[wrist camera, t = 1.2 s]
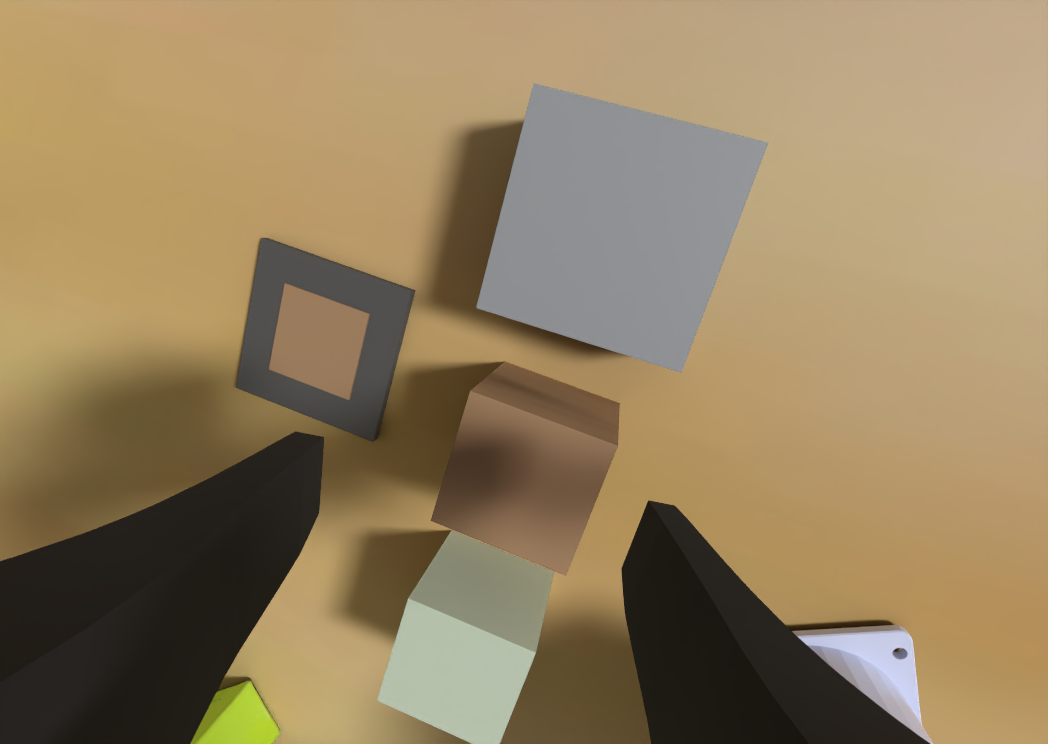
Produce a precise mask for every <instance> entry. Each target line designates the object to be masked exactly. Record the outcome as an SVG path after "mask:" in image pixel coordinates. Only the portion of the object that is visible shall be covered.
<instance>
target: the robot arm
mask: <svg viewBox="0 0 1048 744" xmlns="http://www.w3.org/2000/svg"><path fill="white" fill-rule="evenodd" d="M323 447H324V437H320V436H315V435H310V434H305V433H299V432H294V433H292V434H290V435H288V436H286V437H284V438H283V439H281V440H279V441H277V442H275V443H274V444H272V445H270V446H268V447H266V448H265V449H263V450H261V451H259V452H257V453H256V454H254V455H252V456H250V457H248V458H247V459H245V460H243V461H241V462H239V463H237V464H235V465H234V466H232V467H230V468H228V469H226V470H224V471H222V472H221V473H219V474H217V475H215V476H213V477H211V478H209V479H207V480H205V481H203V482H201V483H199V484H197V485H195V486H193V487H191V488H188V489H186V490H184V491H182V492H180V493H178V494H176V495H174V496H172V497H170V498H168V499H166V500H164V501H162V502H160V503H157V504H155V505H153V506H151V507H148V508H146V509H144V510H141V511H139V512H137V513H134V514H132V515H130V516H127V517H125V518H122V519H120V520H117V521H114V522H112V523H109V524H107V525H104V526H102V527H99V528H97V529H94V530H92V531H89V532H86V533H84V534H81V535H78V536H75V537H72V538H69V539H66V540H63V541H60V542H57V543H54V544H51V545H48V546H45V547H42V548H39V549H36V550H33V551H30V552H28V553H25V554H22V555H19V556H16V557H13V558H10V559H6V560H3V561H0V744H191V742H192V740H193V737H194V735H195V733H196V731H197V729H198V727H199V725H200V723H201V722H202V720H203V718H204V716H205V714H206V712H207V710H208V708H209V706H210V704H211V702H212V700H213V698H214V696H215V694H216V692H217V690H218V688H219V686H220V684H221V682H222V680H223V678H224V676H225V675H226V673H227V671H228V669H229V668H230V666H231V664H232V663H233V661H234V659H235V657H236V656H237V654H238V652H239V651H240V649H241V647H242V646H243V644H244V643H245V641H246V639H247V638H248V636H249V635H250V633H251V632H252V630H253V628H254V627H255V625H256V624H257V622H258V620H259V619H260V617H261V616H262V614H263V612H264V611H265V609H266V608H267V606H268V605H269V603H270V601H271V600H272V598H273V597H274V595H275V593H276V592H277V590H278V589H279V587H280V585H281V584H282V582H283V581H284V579H285V577H286V576H287V574H288V573H289V571H290V569H291V568H292V566H293V565H294V563H295V561H296V560H297V558H298V556H299V555H300V553H301V550H302V548H303V546H304V544H305V542H306V540H307V538H308V536H309V534H310V531H311V529H312V527H313V525H314V523H315V520H316V518H317V516H318V514H319V506H320V491H321V476H322V461H323ZM622 583H623V596H624V607H625V615H626V621H627V626H628V631H629V635H630V640H631V645H632V650H633V655H634V659H635V664H636V669H637V674H638V678H639V683H640V688H641V692H642V697H643V702H644V706H645V711H646V716H647V721H648V726H649V732H650V738H651V744H933V742H932V740H931V739H930V737H929V736H928V734H927V733H926V731H925V729H924V728H923V726H922V724H921V715H920V705H919V696H918V687H917V677H916V668H915V659H914V649H913V641H912V638H911V636H910V635H909V633H908V632H907V631H906V630H905V629H904V628H903V627H900V626H897V625H886V626H869V627H852V628H835V629H818V630H801V631H791V630H790V629H789V628H788V627H787V626H786V625H785V624H784V623H783V622H782V621H781V620H780V619H779V618H778V617H777V616H776V615H775V614H774V613H773V612H772V611H771V610H770V609H769V608H768V607H767V606H766V605H765V604H764V603H763V602H762V601H761V600H760V599H759V598H758V597H757V596H756V595H755V594H754V593H753V592H752V591H751V590H750V589H749V588H748V587H747V586H746V584H745V583H744V582H743V581H742V580H741V579H740V578H739V577H738V576H737V575H736V574H735V573H734V571H733V570H732V569H731V568H730V567H729V566H728V565H727V564H726V563H725V561H724V560H723V559H722V558H721V557H720V556H719V555H718V553H717V552H716V551H715V550H714V549H713V548H712V547H711V545H710V544H709V543H708V542H707V541H706V540H705V539H704V537H703V536H702V535H701V534H700V533H699V532H698V531H697V529H696V528H695V527H694V526H693V525H692V524H691V523H690V521H689V520H688V519H687V518H686V517H685V516H684V515H683V514H682V513H681V512H680V511H679V510H678V509H677V507H676V506H674V505H669V504H664V503H658V502H653V501H648V503H647V505H646V508H645V510H644V513H643V516H642V518H641V521H640V523H639V526H638V528H637V531H636V533H635V536H634V538H633V541H632V543H631V546H630V549H629V551H628V554H627V556H626V559H625V561H624V564H623V566H622ZM896 648H902V649H901V650H900V651H898V652H893V651H894V650H895V649H896Z"/></svg>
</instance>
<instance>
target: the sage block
mask: <svg viewBox="0 0 1048 744" xmlns="http://www.w3.org/2000/svg"><path fill="white" fill-rule="evenodd" d="M553 575H554V572H553V571H551V570H548V569H546V568H543V567H541V566H538V565H536V564H533V563H531V562H528V561H526V560H524V559H521V558H519V557H516V556H514V555H511V554H509V553H506V552H504V551H502V550H499V549H497V548H494V547H492V546H489V545H487V544H484V543H482V542H479V541H477V540H475V539H472V538H470V537H467V536H465V535H462V534H460V533H457V532H455V531H453V530H452V531H451V532H450V534H449V535H448V537H447V538H446V540H445V541H444V543H443V545H442V546H441V548H440V549H439V551H438V552H437V554H436V556H435V557H434V559H433V560H432V562H431V563H430V565H429V566H428V568H427V570H426V571H425V573H424V574H423V576H422V577H421V579H420V581H419V582H418V584H417V585H416V587H415V588H414V590H413V592H412V593H411V595H410V596H409V598H408V601H407V604H406V607H405V610H404V614H403V617H402V620H401V623H400V627H399V630H398V633H397V637H396V640H395V643H394V646H393V650H392V653H391V656H390V660H389V663H388V666H387V669H386V673H385V676H384V679H383V683H382V686H381V689H380V692H379V696H378V699H377V701H379V702H381V703H384V704H386V705H388V706H390V707H392V708H395V709H397V710H399V711H401V712H403V713H406V714H408V715H410V716H412V717H414V718H417V719H419V720H421V721H423V722H425V723H428V724H430V725H432V726H434V727H436V728H439V729H441V730H443V731H445V732H447V733H450V734H452V735H454V736H456V737H458V738H461V739H463V740H465V741H467V742H469V743H472V744H500V742H501V739H502V737H503V734H504V732H505V729H506V727H507V724H508V722H509V719H510V717H511V714H512V712H513V709H514V707H515V704H516V702H517V699H518V697H519V694H520V692H521V689H522V687H523V684H524V682H525V679H526V677H527V674H528V672H529V669H530V667H531V664H532V662H533V659H534V657H535V654H536V651H537V646H538V642H539V637H540V633H541V629H542V624H543V620H544V615H545V611H546V606H547V602H548V597H549V593H550V588H551V584H552V579H553Z"/></svg>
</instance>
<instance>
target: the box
mask: <svg viewBox="0 0 1048 744" xmlns="http://www.w3.org/2000/svg"><path fill="white" fill-rule="evenodd" d="M279 734H280V730H279V727H278V726H277V724H276V722H275V721H274V719H273V717H272V716H271V714H270V712H269V710H268V709H267V707H266V706H265V704H264V703H263V701H262V700H261V698H260V696H259V695H258V693H257V691H256V690H255V688H254V686H253V684H252V682H251V681H246V682H243V683H241V684H239V685H236V686H233V687H229V688H226V689H223V690H221V691H217V692H216V694H215V696H214V698H213V700H212V702H211V704H210V706H209V708H208V710H207V712H206V714H205V716H204V718H203V720H202V722H201V723H200V725H199V727H198V729H197V731H196V733H195V735H194V737H193V740H192V742H191V744H272V743H273V742H274V740H275V739H276V738H277V736H278V735H279Z"/></svg>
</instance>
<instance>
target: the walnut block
mask: <svg viewBox="0 0 1048 744" xmlns="http://www.w3.org/2000/svg"><path fill="white" fill-rule="evenodd" d="M619 405H620V403H617V402H614V401H612V400H609V399H606V398H603V397H601V396H598V395H595V394H592V393H590V392H587V391H584V390H581V389H579V388H576V387H573V386H571V385H568V384H565V383H562V382H560V381H557V380H554V379H551V378H549V377H546V376H543V375H540V374H538V373H535V372H532V371H529V370H527V369H524V368H521V367H518V366H516V365H513V364H510V363H507V362H504V363H502V364H501V365H500V366H499V367H498V368H497V369H495V370H494V371H493V372H492V373H491V374H489V375H488V376H487V377H486V378H485V379H483V380H482V381H481V382H480V383H479V384H478V385H476V386H475V387H474V388H473V389H472V390H470V393H469V396H468V400H467V403H466V406H465V410H464V413H463V416H462V419H461V423H460V426H459V429H458V433H457V436H456V439H455V442H454V446H453V449H452V452H451V456H450V459H449V462H448V466H447V469H446V472H445V475H444V479H443V482H442V485H441V489H440V492H439V495H438V498H437V502H436V505H435V508H434V512H433V515H432V518H431V521H433V522H435V523H438V524H440V525H443V526H445V527H448V528H450V529H453V530H455V531H457V532H460V533H462V534H465V535H467V536H470V537H472V538H475V539H477V540H480V541H482V542H484V543H487V544H489V545H492V546H494V547H497V548H499V549H502V550H504V551H506V552H509V553H511V554H514V555H516V556H519V557H521V558H524V559H526V560H529V561H531V562H533V563H536V564H538V565H541V566H543V567H546V568H548V569H551V570H553V571H556V572H558V573H560V574H563V575H565V576H566V574H567V572H568V569H569V567H570V564H571V562H572V559H573V557H574V554H575V552H576V549H577V547H578V544H579V542H580V539H581V537H582V534H583V532H584V529H585V527H586V524H587V522H588V519H589V517H590V514H591V512H592V509H593V507H594V504H595V502H596V499H597V497H598V494H599V492H600V489H601V487H602V484H603V482H604V479H605V477H606V474H607V472H608V469H609V467H610V464H611V462H612V459H613V457H614V454H615V452H616V449H617V447H618V430H619Z"/></svg>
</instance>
